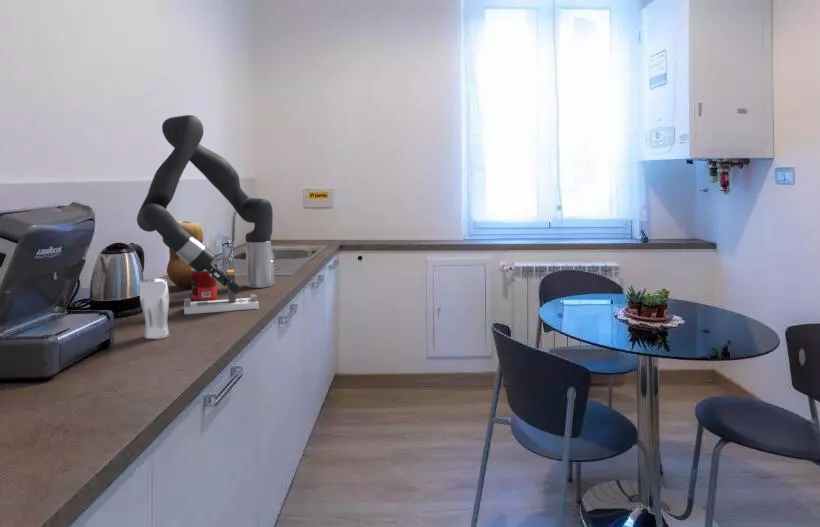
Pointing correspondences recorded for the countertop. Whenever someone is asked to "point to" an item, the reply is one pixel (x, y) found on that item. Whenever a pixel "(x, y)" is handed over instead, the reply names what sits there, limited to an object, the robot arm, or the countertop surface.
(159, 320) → the beer glass
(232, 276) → the post
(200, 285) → the canned food
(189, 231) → the butternut squash
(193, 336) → the countertop surface
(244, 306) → the white slider base
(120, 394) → the countertop surface
